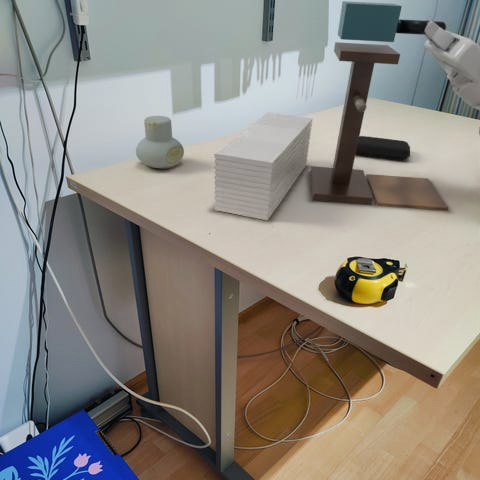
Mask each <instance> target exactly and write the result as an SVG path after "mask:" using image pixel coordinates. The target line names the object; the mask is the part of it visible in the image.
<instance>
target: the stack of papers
mask: <svg viewBox="0 0 480 480" xmlns="http://www.w3.org/2000/svg"><path fill="white" fill-rule="evenodd" d="M312 125H313V117H306V116H297V115H290V114H283V113H276V112H266V113H265V114H264V115H262V116H261V117H260V118H258V119H257V120H256V121H255V122H253V123H252V124H251V125H250V126H248V127H247V128H246V129H244V130H243V131H242V132H240V133H239V134H238V135H237V136H235V137H234V138H232V139H231V140H230V141H228V142H227V143H226V144H225V145H224V146H222V147H221V148H220V149H219V150H217V151H216V152H214V211H218V212H223V213H228V214H232V215H239V216H242V217H243V216H244V217H248V218H253V219H258V220H262V221H263V220H264V221H269V219H270V218H271V216H272V215H273V213H274V212H275V210H276V209H277V208H278V206H279V205H280V204H281V202H282V201H283V200H284V198H285V196H286V195H287V194H288V192H289V191H290V190H291V188H292V187H293V185H294V184H295V182H296V181H297V180H298V178H299V177H300V175H301V174H302V172H303V171H304V170H305V168H306V167H307V161H308V155H309V154H308V153H309V147H310V139H311V132H312V128H313V127H312Z"/></svg>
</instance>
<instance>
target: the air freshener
mask: <svg viewBox="0 0 480 480" xmlns="http://www.w3.org/2000/svg"><path fill="white" fill-rule="evenodd" d="M143 122H144V133H145V134H144V135H145V137H144V138H143V139H141V140H140V141H139V142H138V143H137V145H136V148H135V154H136V157H137V159H138V160H139V161H140V163H142V164H143V165H145V166H147V167H149V168H154V169H171V168H173V167H174V166H176V165H178V164H179V163H180V162H181V161H182V160H183V157H184V154H185V148H184V147H183V144H182V142H180V141H179V140H178V139H176V138H174V137H173V127H172V119H170V117H168V116H165V115H151V116H147V117H145V118H144V121H143Z"/></svg>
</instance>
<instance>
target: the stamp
mask: <svg viewBox="0 0 480 480" xmlns="http://www.w3.org/2000/svg"><path fill="white" fill-rule="evenodd" d="M341 2H342V4H341V8H340V9H341V10H340V17H339V21H338V22H339V23H338V28H337V36H338V38H340V40H345V41H346V40H348V41H364V42H383V43H384V42H385V43H395V39H396V34H400V35H401V34H402V35H403V34H404V35H419V36H420V35H421V36H422V35H423V36H425V35H427V34H426V33H425V32H423V29H424V27H425V26H426V24H427V23H428V22H429V21H430V20H429V21H423V20H422V19H421V20H420V19H419V20H417V19H400V17H401V12H402V7H403V6H402V5H400V4H396V3H389V2H388V3H387V2H386V3H385V2H369V1H349V0H348V1H347V0H343V1H341ZM432 21H433V22H435V23H436V24H437V25H438V26H439V27H440V28H442V29H443V30H446V31H447V24H446V22H445V21H439V20H438V21H437V20H432Z"/></svg>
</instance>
